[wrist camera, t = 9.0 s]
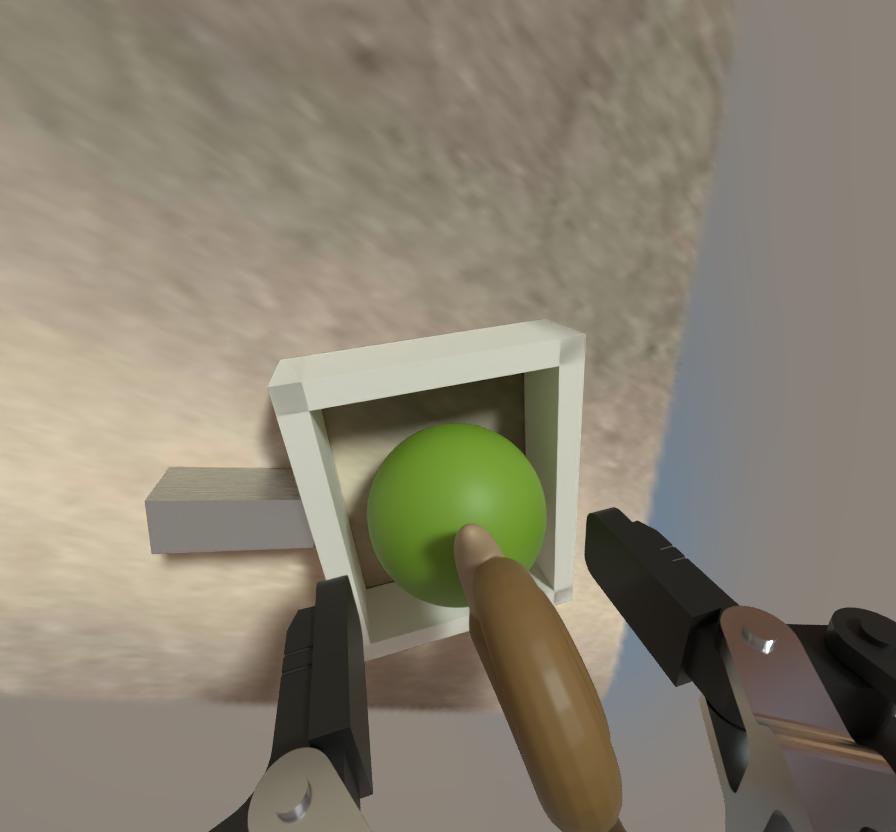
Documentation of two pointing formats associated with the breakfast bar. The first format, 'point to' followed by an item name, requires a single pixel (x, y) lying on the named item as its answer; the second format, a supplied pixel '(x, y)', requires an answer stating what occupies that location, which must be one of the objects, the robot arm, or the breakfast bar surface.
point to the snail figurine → (499, 604)
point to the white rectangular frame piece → (317, 485)
